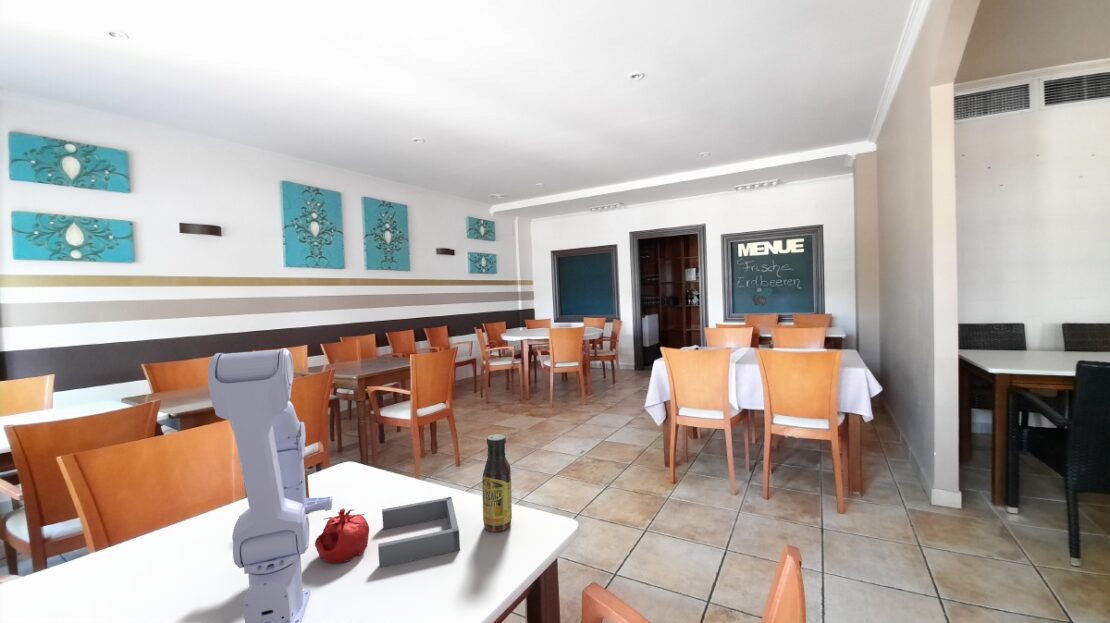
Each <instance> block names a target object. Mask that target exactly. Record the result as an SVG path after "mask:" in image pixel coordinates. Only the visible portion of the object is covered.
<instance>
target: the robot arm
mask: <svg viewBox="0 0 1110 623" xmlns="http://www.w3.org/2000/svg"><path fill="white" fill-rule="evenodd" d="M293 360H294V359H293V354H292V352H291V351H290V350H288V349H287V347H286V348H285V347H284V348H280V349H269V350H267V349H266V350H258V351H243V352H242V351H241V352H231V353H223V352H216V353H215V354H214V355H213V357H211V359H210V360H209V362H208V369H207V387H208V391H209V396H210V400H211V404H212V405H211V406H212V408H213V409H214V412H215V416H216V417H219V418H221V419H223V420H226V421H228V422H229V424H230V427H231V430H232V434H233V436H234V440H235V444H236V445H235V446H236V449H237V454H238V459H239V464H240V468H241V473H242V477H243V482H244V487H245V492H246V497H247V498H246V499H247V502H248V507H249V508H247V509H246V510H245V511H244V512H242V514H240V515H239V517H238V518H237V519H236V523H235V524H234V528H233V531H232V537H231V539H232V558H233V563H234V565H236V567H238V569H242V568H243V569H244V571H243V572H244V574H245V575H248V589H247V591H246V594H245V595H244V598H243V615H244V616H243V617H244V623H301V622H302V619H303V617H304V613H305V611H306V607H307V605H308V601H309V598H310V595H311V590H310V589H308V590H307V589H306V590H304V587H303V586H304V585H303V574H302V572H303V571H302V561H301V560H302V559H301V558H302V557H301V555H303V554H305V553H306V551H308V548H309V545H310V520H309V515H307V514H309V513H312V512H318V511H331V510H332V508H333V496H323V497H322V496H321V497H309V498H306V486H305V471H306V470H305V471H304V462H305V459H304V457H305V454H306V452H305V451H306V449H305V448H306V447H305V444H306V437H307V436H306V424H305V422H304V421H300V420H299V419H298V415H297V414H296V413H297V412H296V410H295V407H294V404H293V403H292V401H290V399H291V395H292V386H293V385H292V384H293V382H294V361H293ZM308 512H309V513H308Z"/></svg>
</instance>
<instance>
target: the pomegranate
mask: <svg viewBox="0 0 1110 623" xmlns="http://www.w3.org/2000/svg"><path fill="white" fill-rule="evenodd" d="M355 510H356V509H349V510H347V512H346V509H345V508H341V509H340V510H339V511H338V512H337V514H338V515H337V516H329V517H326V518H324V520H327V522H326V524H325V526H324V528H323V531H322V533H321V534H319V535H318V536H317V538H316V539H315V542H314V546H315V549H316V551H317V553H318V557H319V558H321V559H322V560H323V561H324V562H326V563H329V564H341V563H346V562H349V561H351V560H353V559H354V558H356V557H359V556H360V555H362V554H363V552H365V551H366V550H367V547H368V543H369V534H370V527H369V522H368V521H367V520H366V518H365V517H364V515H365V513H364V514H360V513H358V514H350V513H351V512H352V511H355Z"/></svg>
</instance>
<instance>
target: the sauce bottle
mask: <svg viewBox="0 0 1110 623" xmlns="http://www.w3.org/2000/svg"><path fill="white" fill-rule="evenodd" d="M506 438H507V437H506V436H505V434H502V433H500V434H498V433H497V434H496V433H494V434H490V435H488V436H487V437H486V445H487V459H486V461H485V462H486V463H485V466H484V469H483V473H482V481H481V482H482V483H481V484H482V521H483V527H484V528H485V529H486V530H487V531H489V532H494V533H495V532H497V533H499V532H504V531H505V530H507V529H509V527H510V526H512V519H513V516H512V515H513V513H512V512H513V510H512V509H513V508H512V507H513V506H512V503H513V502H512V475H511V474H512V471H511V465H510V463H509V461H508V460H507V457H506V442H507V441H506V440H507V439H506Z"/></svg>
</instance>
